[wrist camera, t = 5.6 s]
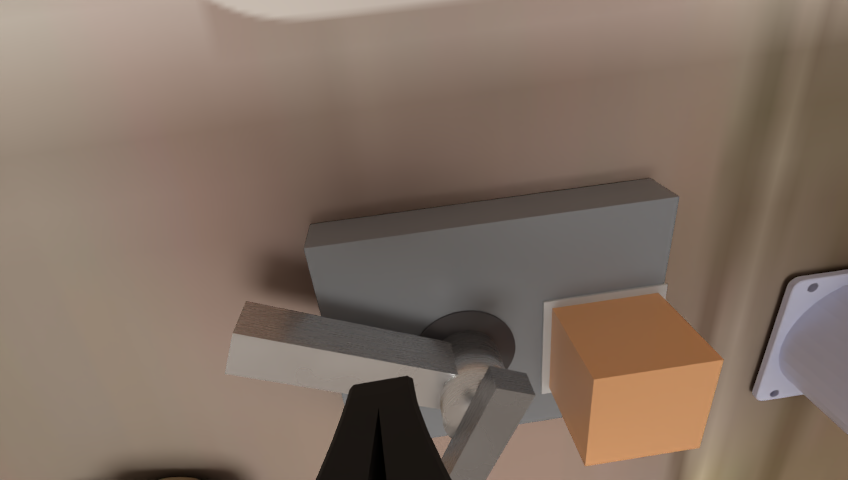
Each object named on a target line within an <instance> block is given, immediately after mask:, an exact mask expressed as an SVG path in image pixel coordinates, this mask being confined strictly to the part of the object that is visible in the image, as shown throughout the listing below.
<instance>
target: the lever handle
mask: <svg viewBox="0 0 848 480" xmlns="http://www.w3.org/2000/svg"><path fill="white" fill-rule="evenodd" d="M225 374H229V375H235V376H241V377H247V378H253V379H259V380H265V381H271V382H277V383H283V384H289V385H295V386H302V387H308V388H314V389H320V390H326V391H332V392H338V393H344V394H348V393H349V389H350V388H351V387H352V386H353V385H355V384H361V383H366V382H372V381H378V380H384V379H390V378H396V377H402V376H409V377H411V378H413V382H414V387H415V392H416V397H417V401H418V405H419V406H423V407H429V408H435V409H441V414H442V420H443V426H444V429H445V431H446V433H447V434H448V436H449V437H451V438H452V439H451V441H450V443H449V445H448V447H447V449H446V451H445V453H444V455H443V457H442V459H441V460H442V462H443V464H444V466H445V468H446V470H447V472H448V474H449V476H450V477H451V479H452V480H486V479H487V477H488V475H489V474H490V472H491V470H492V468H493V467H494V465H495V463H496V462H497V460H498V458H499V457H500V455H501V453H502V452H503V450H504V448H505V446H506V445H507V443H508V441H509V440H510V438H511V436H512V435H513V433H514V431H515V430H516V428H517V426H518V424H519V423H520V421H521V419H522V418H523V416H524V414H525V413H526V411H527V409H528V408H529V406H530V404H531V402H532V401H533V399H534V397H535V396H536V395H535V393H534V390H533V388H532V385H531V383H530V380H529V378H528V376H527V373H523V372H518V371H513V370H508V369H505V367H504V364H503V362H502V359H501V356H500V353H499V351H498V348H497V345H496V343H495V342H494V341H493V339H492V338H490V337H489V336H487V335H486V334H483V333H481V332H476V331H463V332H458V333H455V334H453V335H450V336H449V337H447V338H445V339H444V340H443V341H441V340H436V339H431V338H426V337H421V336H416V335H411V334H406V333H401V332H396V331H391V330H386V329H381V328H376V327H371V326H367V325H362V324H357V323H352V322H347V321H342V320H337V319H332V318H327V317H322V316H317V315H312V314H307V313H302V312H297V311H293V310H288V309H283V308H278V307H273V306H268V305H263V304H258V303H253V302H248V301H246V302H245V305H244V307H243V309H242V312H241V314H240V317H239V319H238V321H237V324H236V326H235V329H234V331H233V334H232V339H231V344H230V349H229V355H228V360H227V365H226V370H225Z"/></svg>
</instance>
